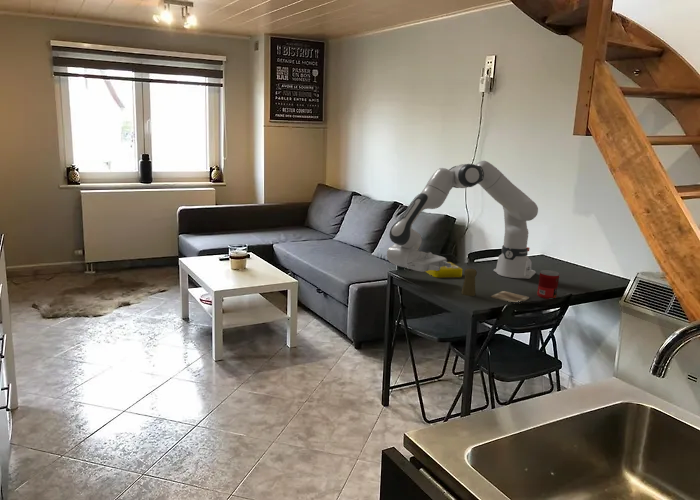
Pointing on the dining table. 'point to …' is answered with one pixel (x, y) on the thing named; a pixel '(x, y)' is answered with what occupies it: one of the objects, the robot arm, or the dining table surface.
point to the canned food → (548, 284)
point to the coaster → (509, 297)
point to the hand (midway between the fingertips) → (444, 267)
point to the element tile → (447, 271)
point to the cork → (469, 282)
